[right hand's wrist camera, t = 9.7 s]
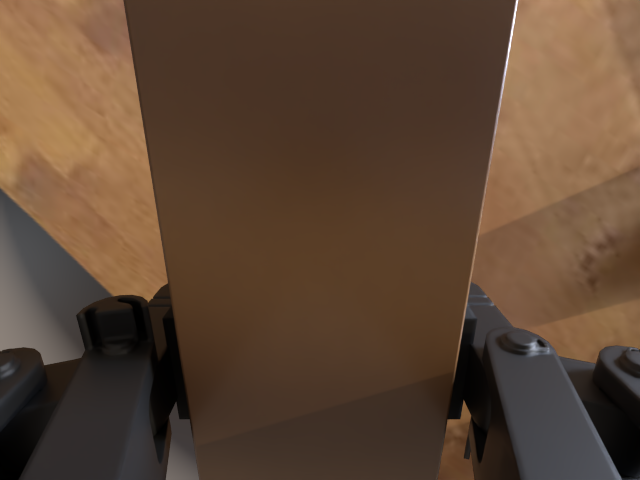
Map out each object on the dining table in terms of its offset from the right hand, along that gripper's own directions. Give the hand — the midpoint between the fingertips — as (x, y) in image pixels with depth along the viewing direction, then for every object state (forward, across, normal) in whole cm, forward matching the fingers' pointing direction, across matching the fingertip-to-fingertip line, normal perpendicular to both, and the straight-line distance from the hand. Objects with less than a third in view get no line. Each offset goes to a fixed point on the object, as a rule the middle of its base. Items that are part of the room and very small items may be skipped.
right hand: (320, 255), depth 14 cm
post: (0, 0, -32) cm, 32 cm away
